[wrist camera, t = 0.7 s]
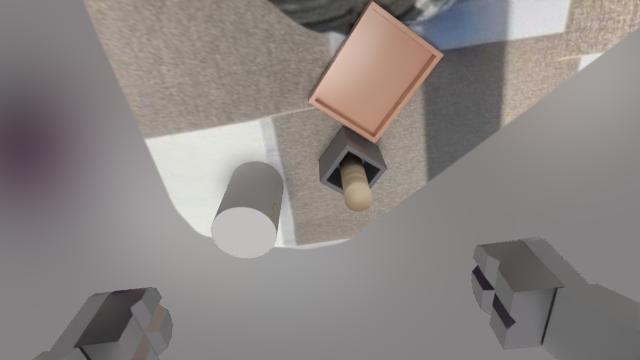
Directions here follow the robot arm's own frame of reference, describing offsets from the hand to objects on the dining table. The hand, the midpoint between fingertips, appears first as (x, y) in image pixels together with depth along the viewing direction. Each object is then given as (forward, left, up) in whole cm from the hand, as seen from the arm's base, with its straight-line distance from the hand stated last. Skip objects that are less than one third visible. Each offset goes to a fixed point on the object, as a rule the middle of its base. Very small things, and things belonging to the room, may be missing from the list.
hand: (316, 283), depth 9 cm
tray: (-1, +9, -40) cm, 41 cm away
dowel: (+10, +13, -39) cm, 42 cm away
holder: (+10, +13, -40) cm, 43 cm away
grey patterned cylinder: (+22, +4, -40) cm, 46 cm away
